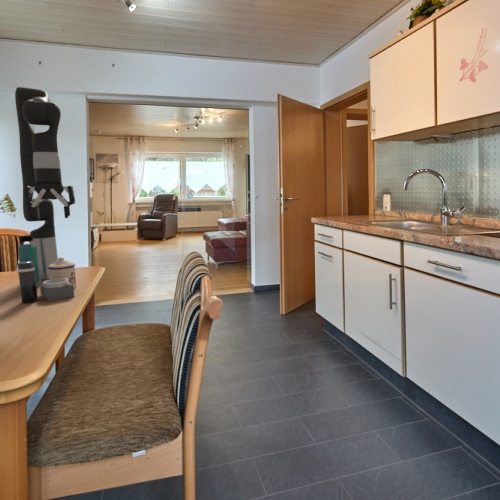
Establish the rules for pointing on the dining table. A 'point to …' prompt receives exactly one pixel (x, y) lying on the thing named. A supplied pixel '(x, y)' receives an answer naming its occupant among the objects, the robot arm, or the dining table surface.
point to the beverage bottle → (29, 255)
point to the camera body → (56, 289)
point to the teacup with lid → (63, 270)
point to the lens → (27, 282)
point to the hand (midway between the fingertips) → (52, 218)
